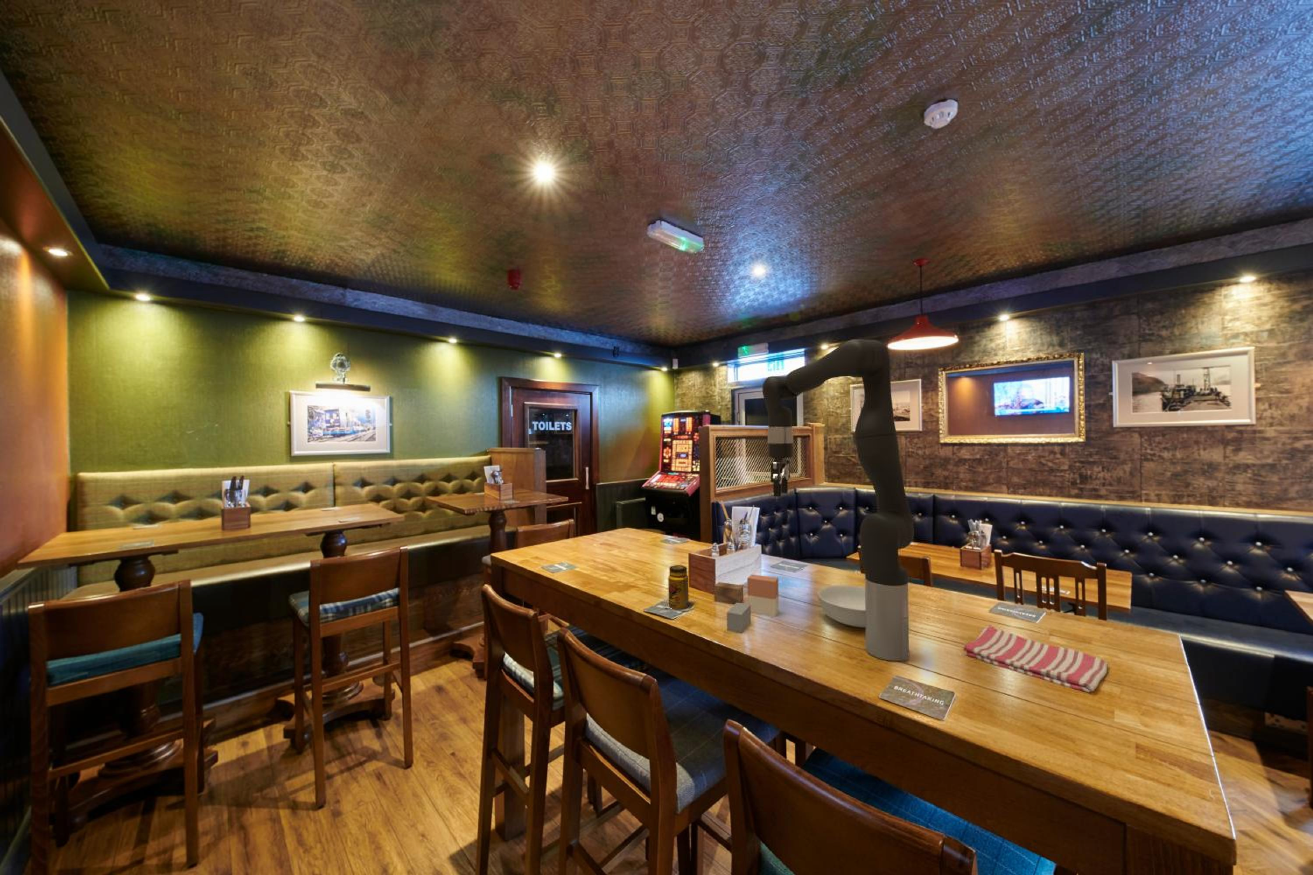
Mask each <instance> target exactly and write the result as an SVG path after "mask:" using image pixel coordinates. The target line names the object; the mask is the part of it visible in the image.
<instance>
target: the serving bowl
mask: <svg viewBox="0 0 1313 875" xmlns="http://www.w3.org/2000/svg"><path fill="white" fill-rule="evenodd" d="M817 600H818V603H819V605H820V608H821V610H822V611H823V612H824V613H825V614H826V615H827V616H828V617H829V618H831V619H832V620H834V621H836V622H839V623H841V624H844V625H848V626H851V627H855V628H862V629H863V628H864V629H865V586H859V585H845V584H844V585H843V584H842V585H841V584H840V585H838V584H837V585H829V586H825V587H822V588H820V589H819V590H818V591H817Z"/></svg>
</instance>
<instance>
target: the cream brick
mask: <svg viewBox="0 0 1313 875" xmlns="http://www.w3.org/2000/svg"><path fill="white" fill-rule="evenodd" d="M779 598H780V596H779V595H778V596H777V598H776V599H769V598H763V597H756V596H750V595H748V594H747V604H749V605H751V614H756V615H762V616H763V615H764V616H771V617H777V615H778V614H779V612H780V610H779V608H780V607H779V605H780V603H779V602H780V601H779Z"/></svg>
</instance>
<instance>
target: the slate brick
mask: <svg viewBox="0 0 1313 875" xmlns="http://www.w3.org/2000/svg"><path fill="white" fill-rule="evenodd" d="M751 614H752V613H751V605H749V604H748V603H743V602H742V603H736V604H735V605H734V604H733V605H732V606H731V607H730V608H729V609H728V610H727V612H726V631H727V632H733V633H739V634H743V632H744V631H746V629H747V628H748V626H749V625H750V624H751V623H752V622H751V621H752V620H751V619H752V618H751V616H752V615H751Z"/></svg>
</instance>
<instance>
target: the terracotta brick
mask: <svg viewBox="0 0 1313 875" xmlns="http://www.w3.org/2000/svg"><path fill="white" fill-rule="evenodd" d="M746 580H747V581H746V583H747V596H748V595H750V596H756V597H763V598H769V599H776V598H777V596H778V595H779V593H780V592H779V577H775V576H773V577H772V576H766V575H760V574H759V575H758V574H750V575H749V576H748V577H747V579H746Z"/></svg>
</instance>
